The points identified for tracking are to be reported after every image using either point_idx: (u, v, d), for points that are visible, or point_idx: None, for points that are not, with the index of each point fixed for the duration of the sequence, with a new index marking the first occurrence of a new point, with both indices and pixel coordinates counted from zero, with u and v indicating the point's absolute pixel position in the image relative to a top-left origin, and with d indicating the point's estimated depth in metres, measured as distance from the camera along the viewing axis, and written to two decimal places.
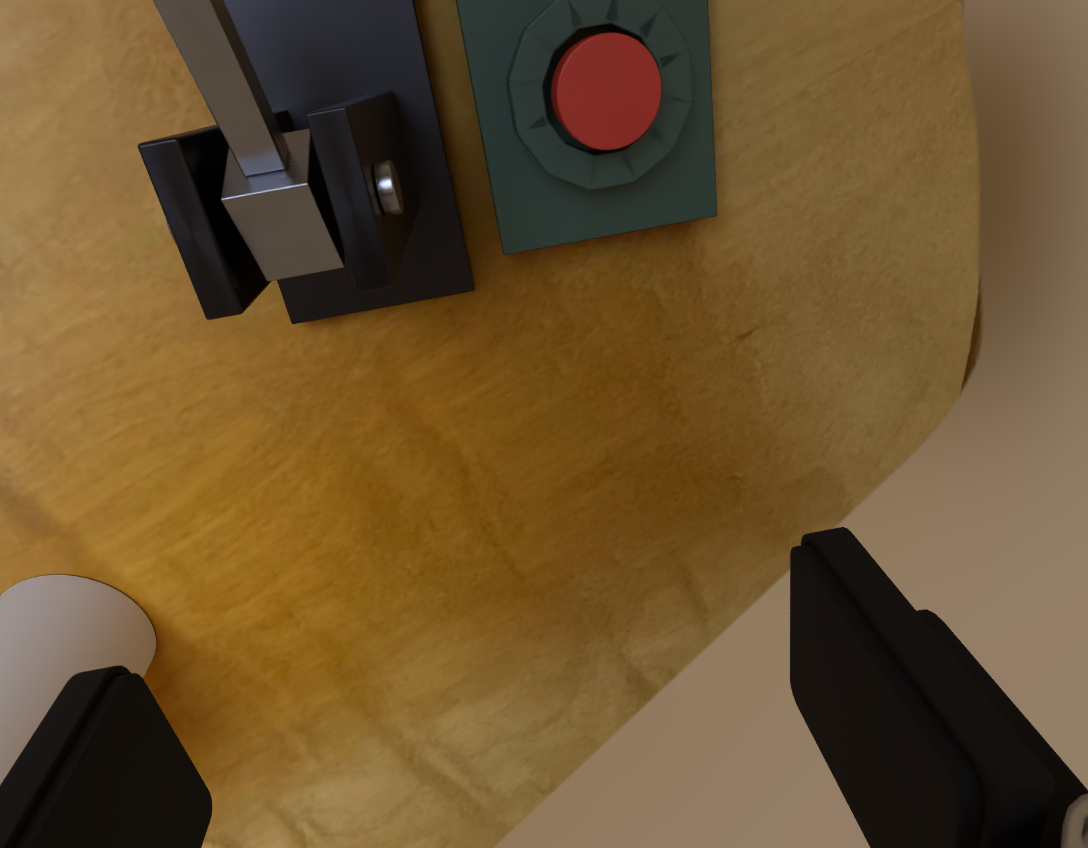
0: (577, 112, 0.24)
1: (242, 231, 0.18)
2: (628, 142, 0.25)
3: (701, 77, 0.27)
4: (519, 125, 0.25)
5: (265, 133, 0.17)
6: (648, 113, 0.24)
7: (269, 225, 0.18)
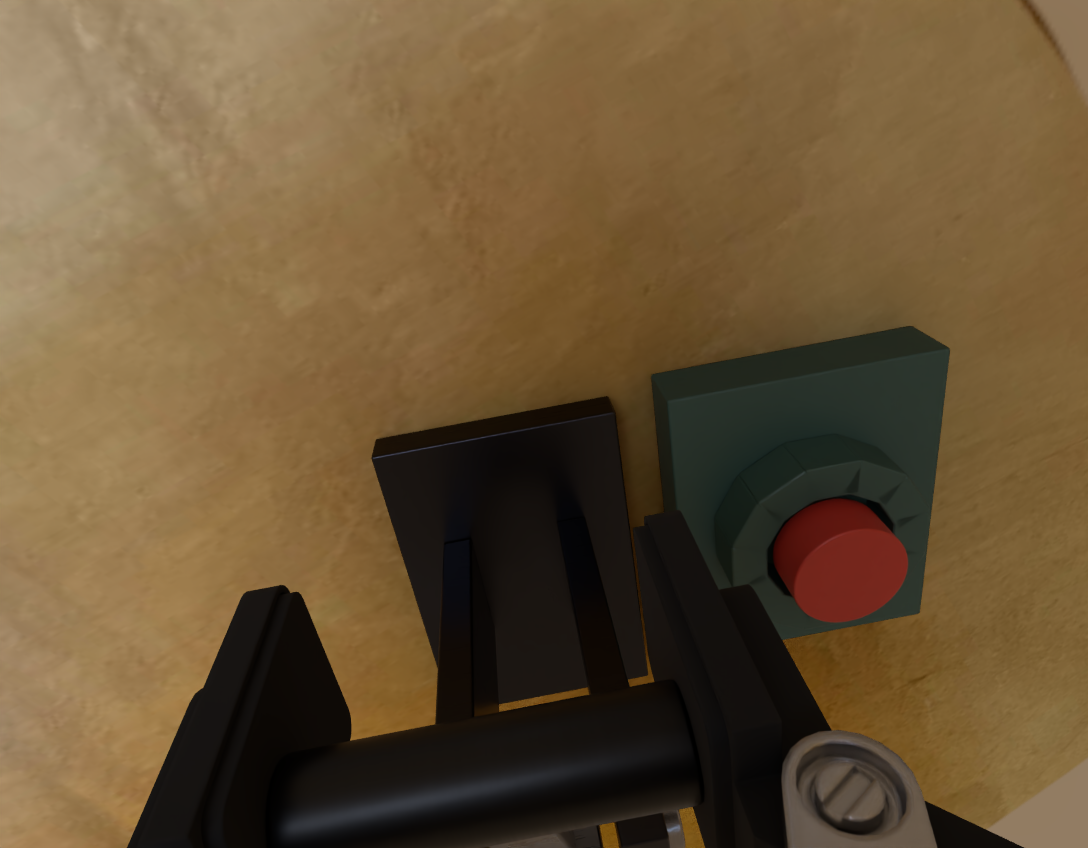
0: (814, 595, 0.22)
1: None
2: (864, 615, 0.22)
3: None
4: (737, 583, 0.23)
5: None
6: (889, 591, 0.22)
7: None
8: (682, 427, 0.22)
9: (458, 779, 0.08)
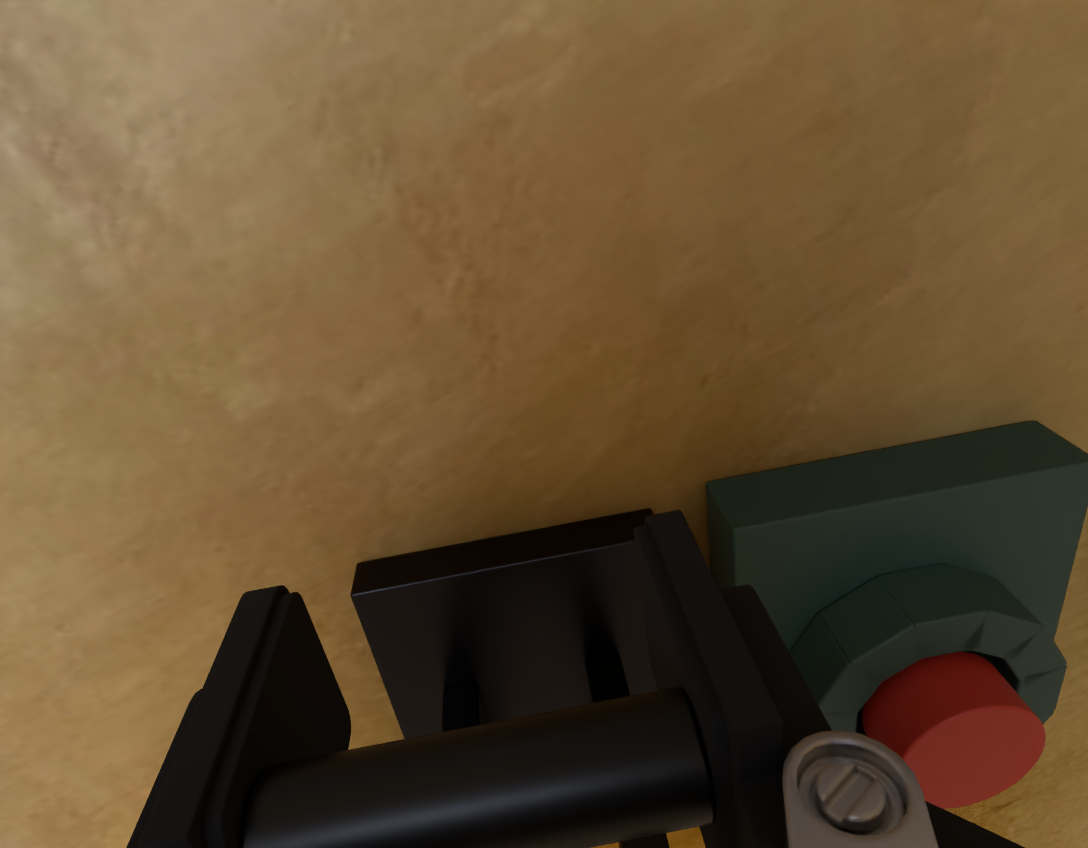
0: (922, 781, 0.17)
1: None
2: (982, 800, 0.17)
3: None
4: None
5: None
6: (1017, 773, 0.17)
7: None
8: (750, 560, 0.17)
9: (447, 757, 0.08)
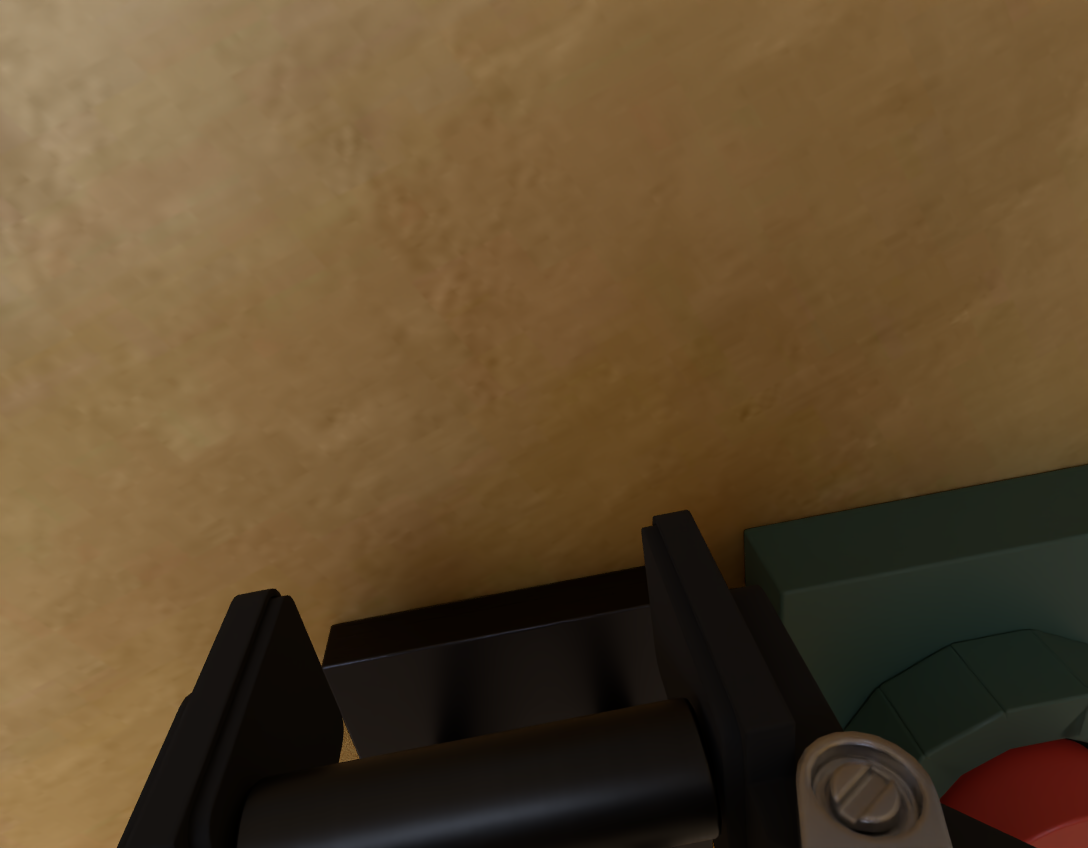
0: None
1: None
2: None
3: None
4: None
5: None
6: None
7: None
8: (801, 628, 0.14)
9: (447, 755, 0.08)
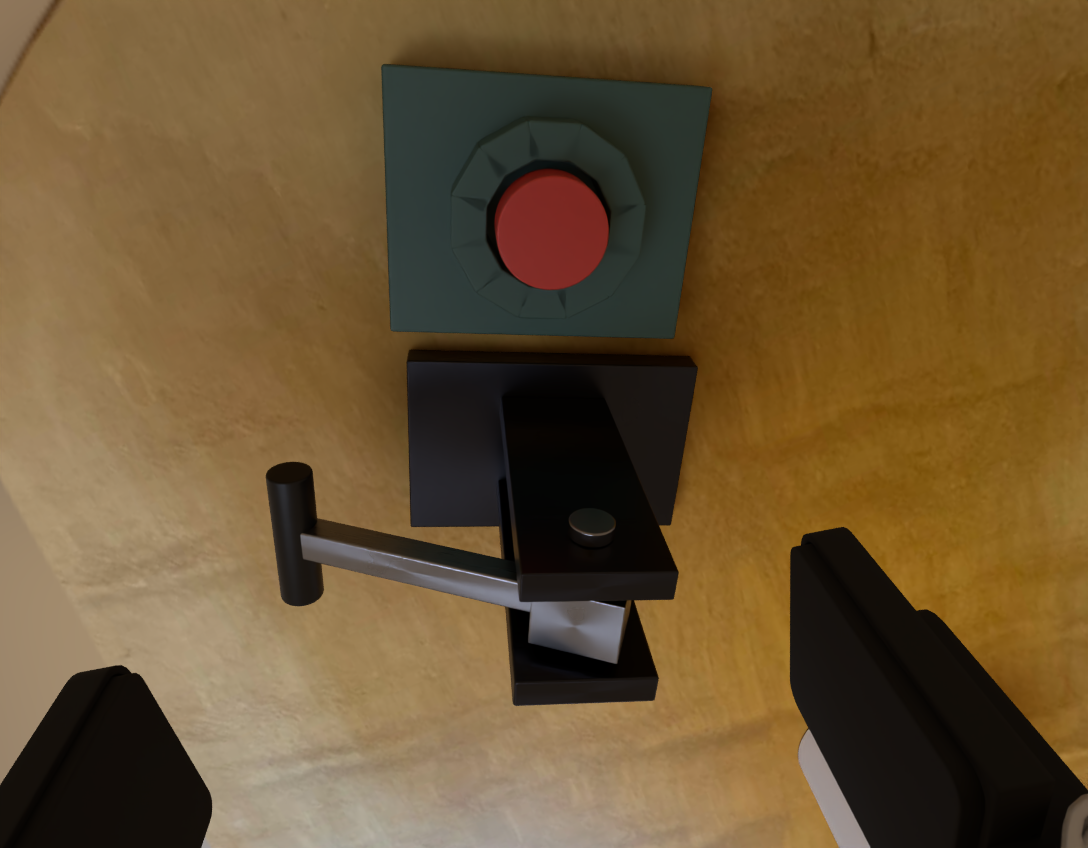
0: (563, 271, 0.23)
1: (560, 648, 0.22)
2: (605, 222, 0.22)
3: (558, 90, 0.23)
4: (559, 316, 0.25)
5: (504, 582, 0.22)
6: (582, 195, 0.22)
7: (560, 630, 0.21)
8: (417, 322, 0.27)
9: None
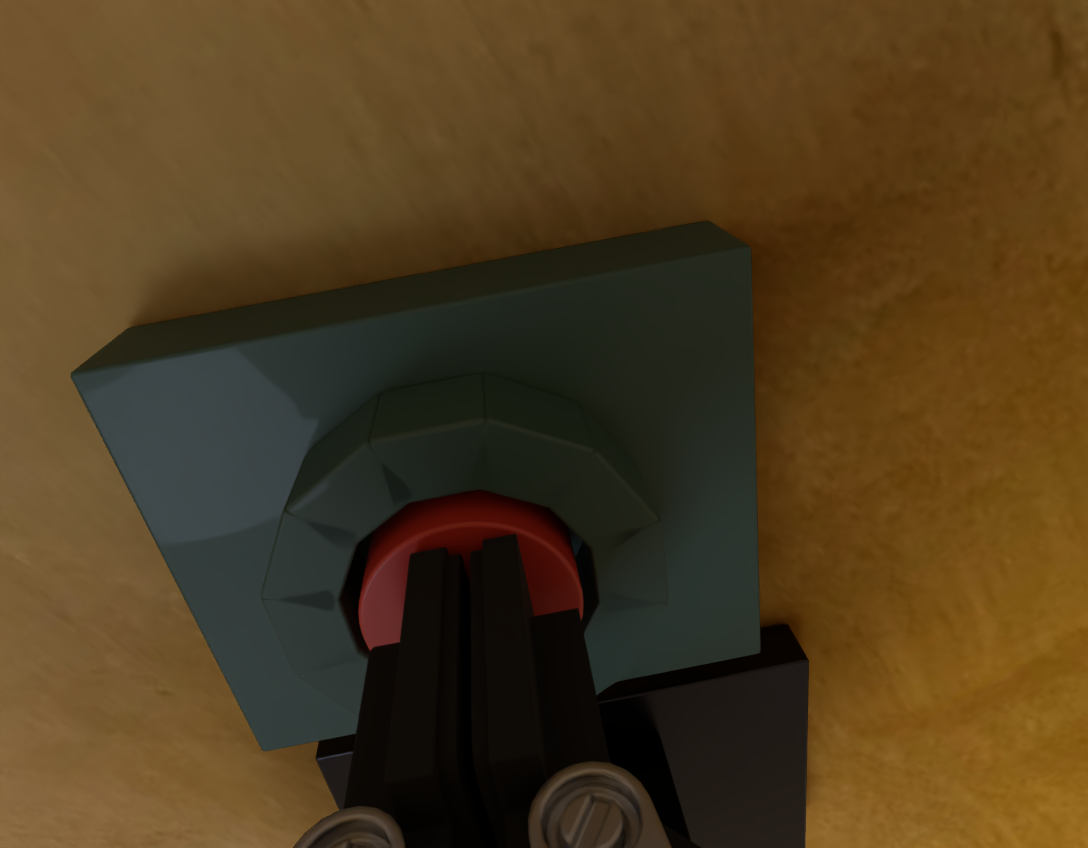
0: None
1: None
2: (569, 574, 0.11)
3: (433, 330, 0.11)
4: None
5: None
6: None
7: None
8: (302, 731, 0.15)
9: None
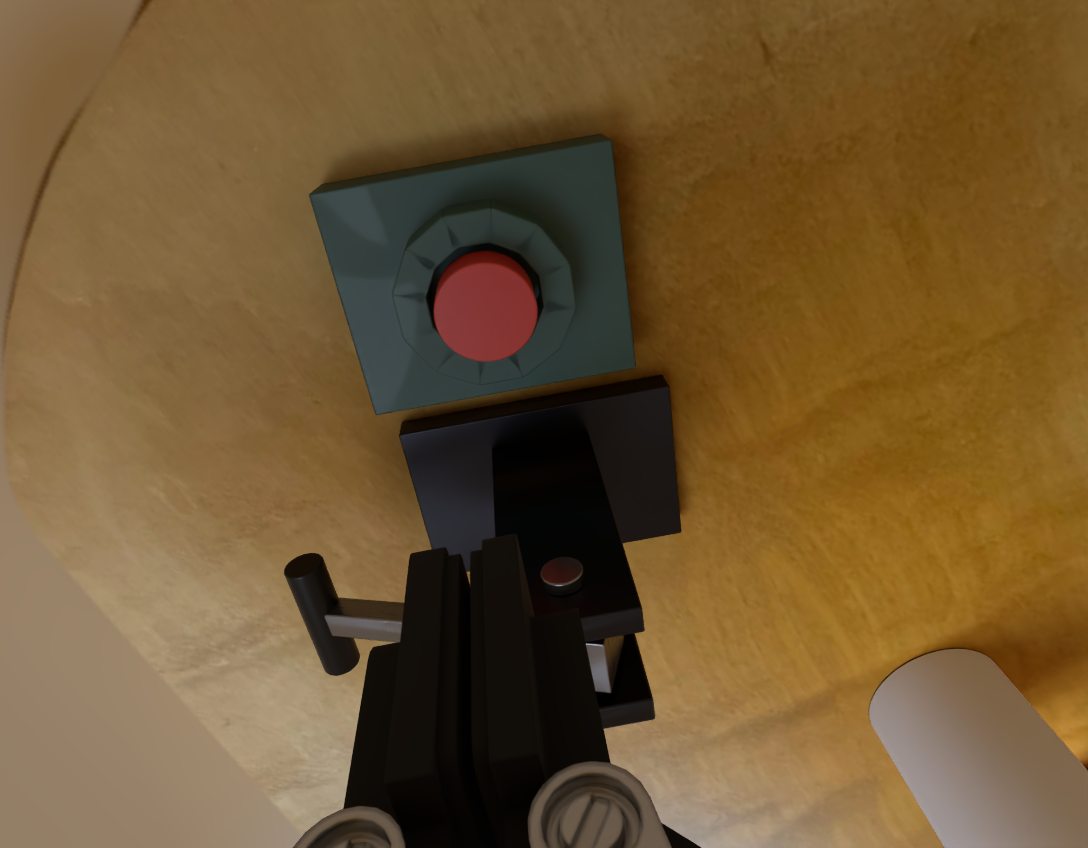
0: (503, 342, 0.25)
1: None
2: (530, 292, 0.24)
3: (469, 177, 0.25)
4: (516, 376, 0.27)
5: None
6: (503, 274, 0.24)
7: None
8: (397, 402, 0.29)
9: None
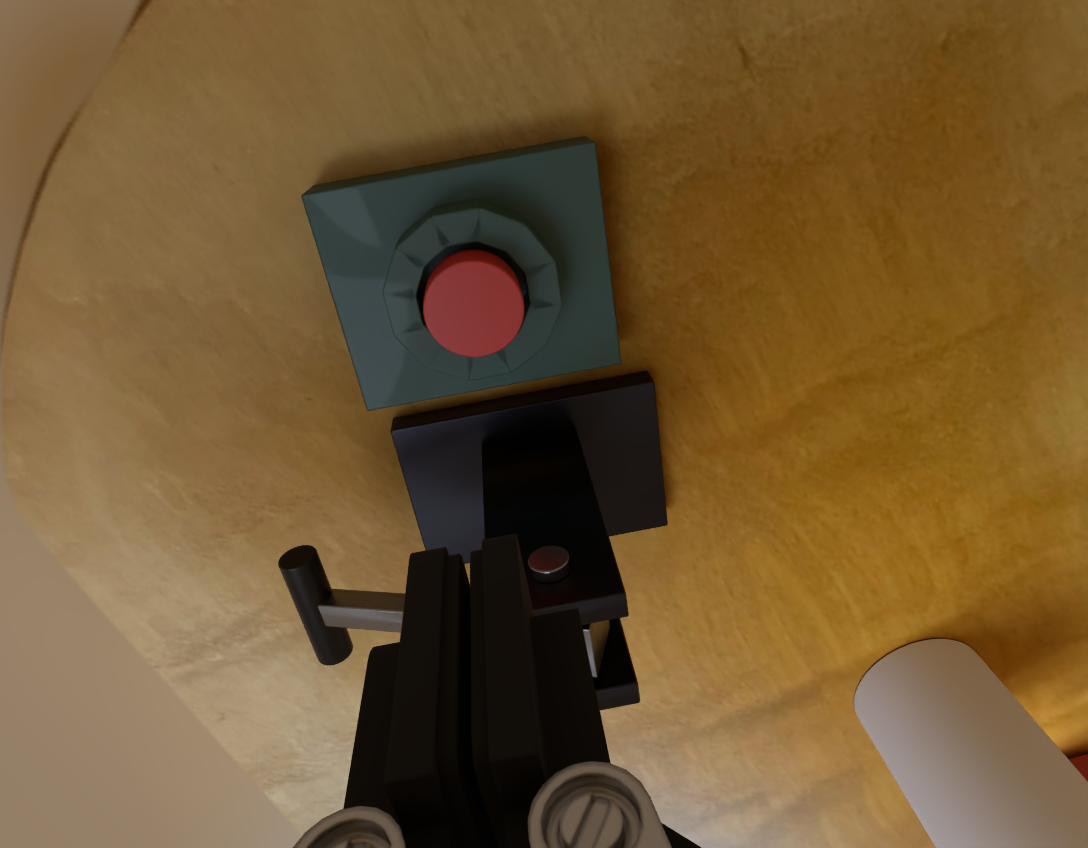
0: (491, 338, 0.26)
1: None
2: (517, 289, 0.25)
3: (457, 178, 0.26)
4: (504, 371, 0.28)
5: None
6: (490, 271, 0.25)
7: None
8: (388, 398, 0.30)
9: None
